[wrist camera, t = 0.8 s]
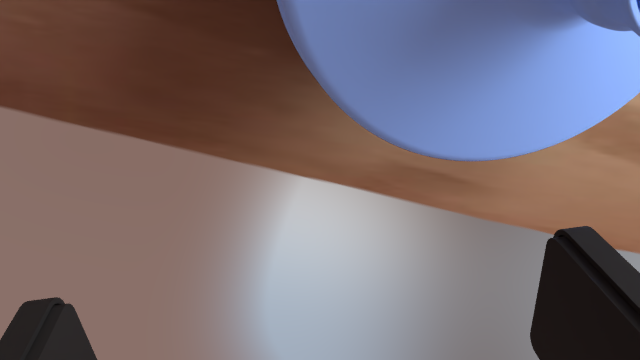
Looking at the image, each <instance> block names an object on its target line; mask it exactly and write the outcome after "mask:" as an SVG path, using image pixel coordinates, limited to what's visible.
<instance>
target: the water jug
mask: <svg viewBox="0 0 640 360" xmlns="http://www.w3.org/2000/svg"><path fill="white" fill-rule="evenodd" d="M277 4H278V7H279V10H280V13H281V16H282V19H283V22H284V24H285V27H286V29H287V31H288V34H289V36H290V38H291V40H292V42H293V44H294V46H295V48H296V50H297V52H298V53H299V55H300V57H301V58H302V60H303V62H304V63H305V65H306V66H307V68H308V69H309V70H310V72H311V73H312V75H313V76H314V77H315V78H316V80H317V81H318V83H319V84H320V85H321V87H322V88H323V89H324V90H325V92H326V93H327V94H328V95H329V96H330V98H331V99H332V100H333V101H334V102H335V103H336V104H337V105H338V106H339V107H340V108H341V109H342V110H343V111H344V112H345V113H346V114H347V115H348V116H350V117H351V118H352V119H353V120H354V121H356V122H357V123H358V124H360V125H361V126H362V127H364V128H365V129H367V130H368V131H370V132H371V133H373V134H374V135H376V136H378V137H380V138H381V139H383V140H385V141H387V142H389V143H391V144H393V145H396V146H398V147H400V148H403V149H405V150H408V151H411V152H414V153H417V154H421V155H425V156H429V157H434V158H439V159H446V160H455V161H488V160H498V159H505V158H511V157H516V156H520V155H525V154H528V153H532V152H535V151H539V150H542V149H545V148H548V147H550V146H553V145H555V144H558V143H560V142H563V141H565V140H567V139H569V138H572V137H574V136H576V135H578V134H580V133H582V132H583V131H585V130H587V129H589V128H591V127H592V126H594V125H596V124H597V123H599V122H601V121H602V120H604V119H605V118H607V117H608V116H610V115H611V114H613V113H614V112H615V111H617V110H618V109H620V108H621V107H622V106H624V105H625V104H626V103H627V102H629V101H630V100H631V99H632V98H634V97H635V96H636V95H637V94H638V93H639V92H640V0H277Z"/></svg>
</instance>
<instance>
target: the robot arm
mask: <svg viewBox="0 0 640 360" xmlns="http://www.w3.org/2000/svg"><path fill="white" fill-rule="evenodd" d="M530 338H531V343H532V346H533V349H534V351H535V353H536V354H537V356H538V358H539V359H540V360H640V273H639V272H638V271H637V270H636V269H635V268H634V267H633V266H632V265H631V264H629V263H628V262H627V261H626V260H625V259H624V258H623V257H622V256H621V255H620V254H619V253H618V252H617V251H616V250H615V249H614V248H613V247H612V246H611V245H610V244H609V243H607V242H606V241H605V240H604V239H603V238H602V237H601V236H600V235H599V234H598V233H597V232H596V231H595V230H594V229H592V228H591V227H588V226H583V227H575V228H568V229H560V230H558V231H557V232H556V233H555V234H554V237H553V238H550V239H549V240H548V241H547V244H546V249H545V256H544V260H543V266H542V271H541V277H540V283H539V288H538V293H537V299H536V304H535V310H534V316H533V321H532V327H531V332H530ZM0 360H97V358H96V356H95V354H94V352H93V349H92V347H91V345H90V343H89V340H88V338H87V336H86V334H85V331H84V329H83V327H82V325H81V322H80V320H79V318H78V315H77V313H76V311H75V309H74V307H73V306H72V305H71V304H65V303H64V302H63V300H61V299H60V298H48V299H41V300H34V301H27V302H25V303H23V304H22V306H21V307H20V308H19V310H18V312H17V313H16V315H15V317H14V318H13V320H12V321H11V323H10V325H9V326H8V328H7V330H6V331H5V333H4V335H3V336H2V338H1V340H0Z"/></svg>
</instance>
